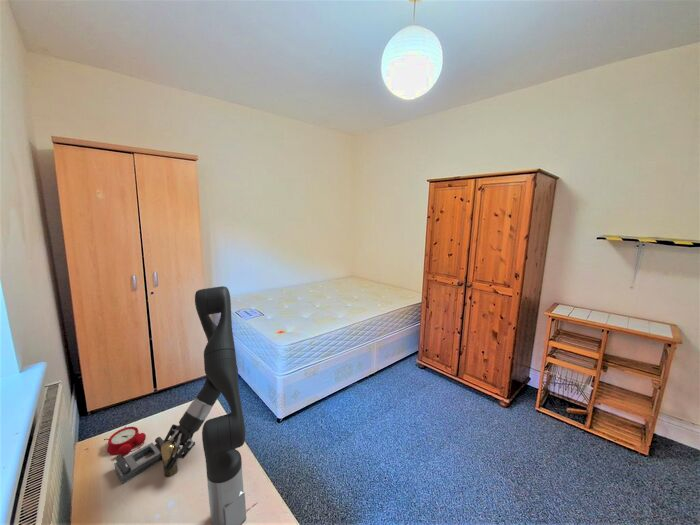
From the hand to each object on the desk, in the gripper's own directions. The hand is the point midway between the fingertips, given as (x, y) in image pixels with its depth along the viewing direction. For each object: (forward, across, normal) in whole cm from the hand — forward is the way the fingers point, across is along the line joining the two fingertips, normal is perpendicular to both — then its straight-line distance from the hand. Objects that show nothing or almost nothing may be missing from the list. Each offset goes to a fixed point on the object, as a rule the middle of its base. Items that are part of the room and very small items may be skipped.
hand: (163, 464), depth 97 cm
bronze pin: (+2, 0, +5) cm, 5 cm away
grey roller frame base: (+5, -12, +2) cm, 13 cm away
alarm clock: (+6, -26, +1) cm, 27 cm away
